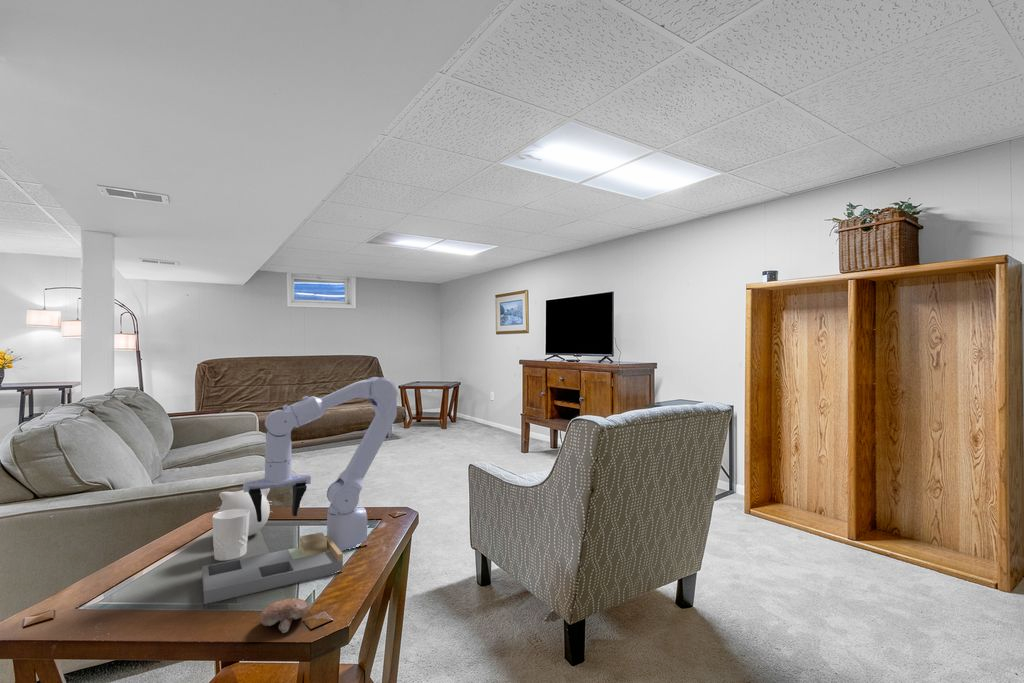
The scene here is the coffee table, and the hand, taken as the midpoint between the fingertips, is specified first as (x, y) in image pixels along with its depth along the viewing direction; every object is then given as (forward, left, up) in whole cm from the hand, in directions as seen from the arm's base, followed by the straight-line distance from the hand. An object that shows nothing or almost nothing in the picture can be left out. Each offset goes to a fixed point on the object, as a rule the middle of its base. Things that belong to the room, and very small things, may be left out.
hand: (277, 517), depth 116 cm
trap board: (+2, +10, -9) cm, 14 cm away
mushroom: (+3, +33, -10) cm, 35 cm away
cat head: (+5, -21, -10) cm, 24 cm away
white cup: (+9, -8, -10) cm, 15 cm away
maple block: (-7, +7, -7) cm, 12 cm away
